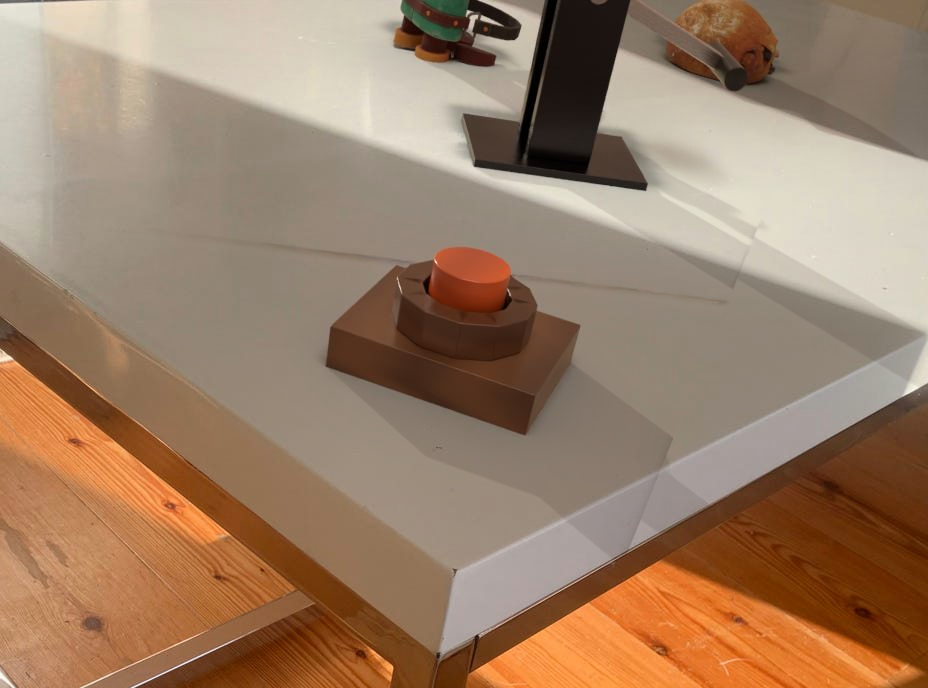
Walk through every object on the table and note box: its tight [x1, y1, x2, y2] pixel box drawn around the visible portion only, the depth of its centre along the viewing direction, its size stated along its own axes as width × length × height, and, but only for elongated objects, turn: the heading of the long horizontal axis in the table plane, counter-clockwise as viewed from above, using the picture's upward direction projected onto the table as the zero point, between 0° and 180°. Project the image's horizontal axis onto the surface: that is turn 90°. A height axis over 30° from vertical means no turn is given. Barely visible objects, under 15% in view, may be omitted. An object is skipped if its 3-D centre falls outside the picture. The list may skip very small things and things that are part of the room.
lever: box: [627, 0, 748, 92], centre depth 74 cm, size 13×6×2 cm, turn 95°
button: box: [428, 246, 512, 313], centre depth 52 cm, size 4×4×2 cm
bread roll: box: [665, 0, 780, 85], centre depth 107 cm, size 10×10×8 cm
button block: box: [325, 259, 581, 436], centre depth 54 cm, size 10×8×4 cm
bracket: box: [461, 0, 649, 192], centre depth 75 cm, size 12×9×14 cm
